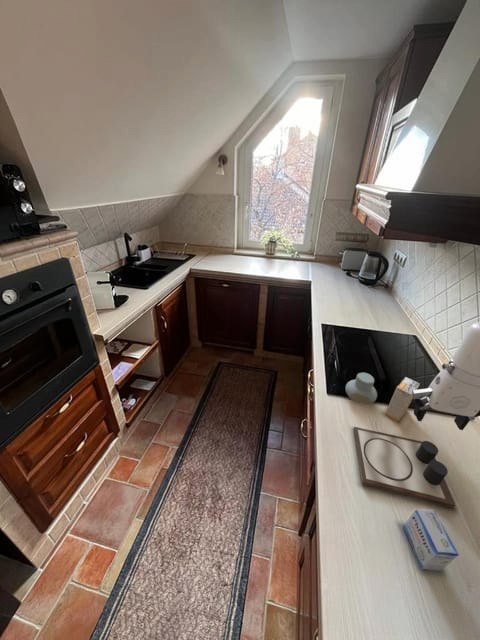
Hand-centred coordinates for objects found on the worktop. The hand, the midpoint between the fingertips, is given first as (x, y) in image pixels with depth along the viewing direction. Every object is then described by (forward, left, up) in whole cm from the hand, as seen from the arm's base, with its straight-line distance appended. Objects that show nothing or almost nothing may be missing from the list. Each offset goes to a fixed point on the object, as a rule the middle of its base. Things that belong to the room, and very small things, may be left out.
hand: (437, 421), depth 68 cm
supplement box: (+1, -18, -17) cm, 25 cm away
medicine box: (+6, +23, -17) cm, 29 cm away
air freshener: (+13, -22, -17) cm, 31 cm away
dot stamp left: (-2, 0, -15) cm, 15 cm away
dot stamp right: (-2, +6, -15) cm, 16 cm away
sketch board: (+6, +3, -17) cm, 18 cm away
